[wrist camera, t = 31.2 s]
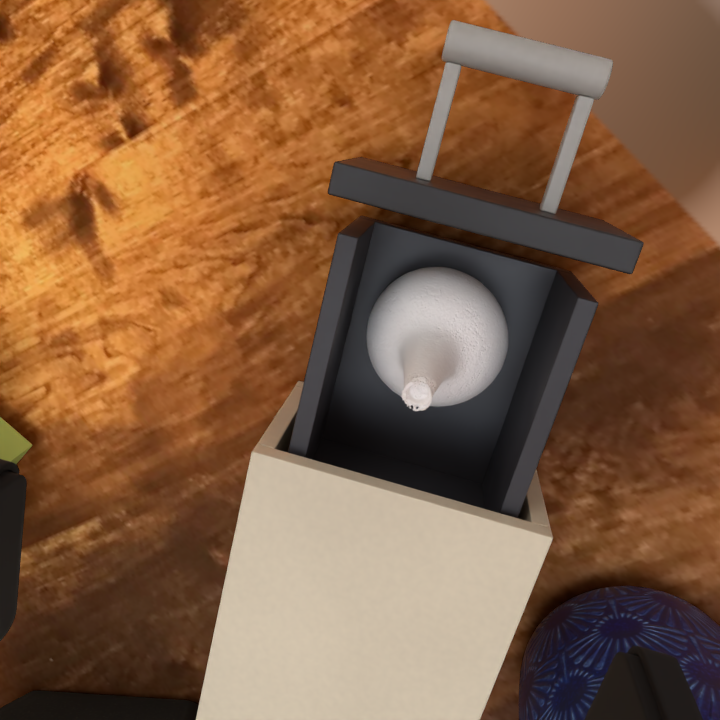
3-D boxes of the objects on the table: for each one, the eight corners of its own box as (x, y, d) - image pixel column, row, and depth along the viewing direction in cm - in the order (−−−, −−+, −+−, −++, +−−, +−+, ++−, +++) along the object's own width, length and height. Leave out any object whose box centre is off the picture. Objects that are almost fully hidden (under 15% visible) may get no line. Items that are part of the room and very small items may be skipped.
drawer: (391, 21, 29) (372, -13, 22) (653, 86, 28) (711, 71, 22) (295, 434, 35) (259, 499, 29) (504, 494, 35) (515, 574, 28)
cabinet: (298, 380, 35) (251, 451, 27) (530, 445, 35) (553, 538, 27) (245, 612, 41) (193, 730, 33) (447, 672, 40) (444, 808, 32)
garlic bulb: (534, 324, 31) (559, 384, 23) (441, 416, 33) (437, 498, 25) (432, 233, 30) (424, 264, 23) (343, 332, 32) (309, 391, 25)
